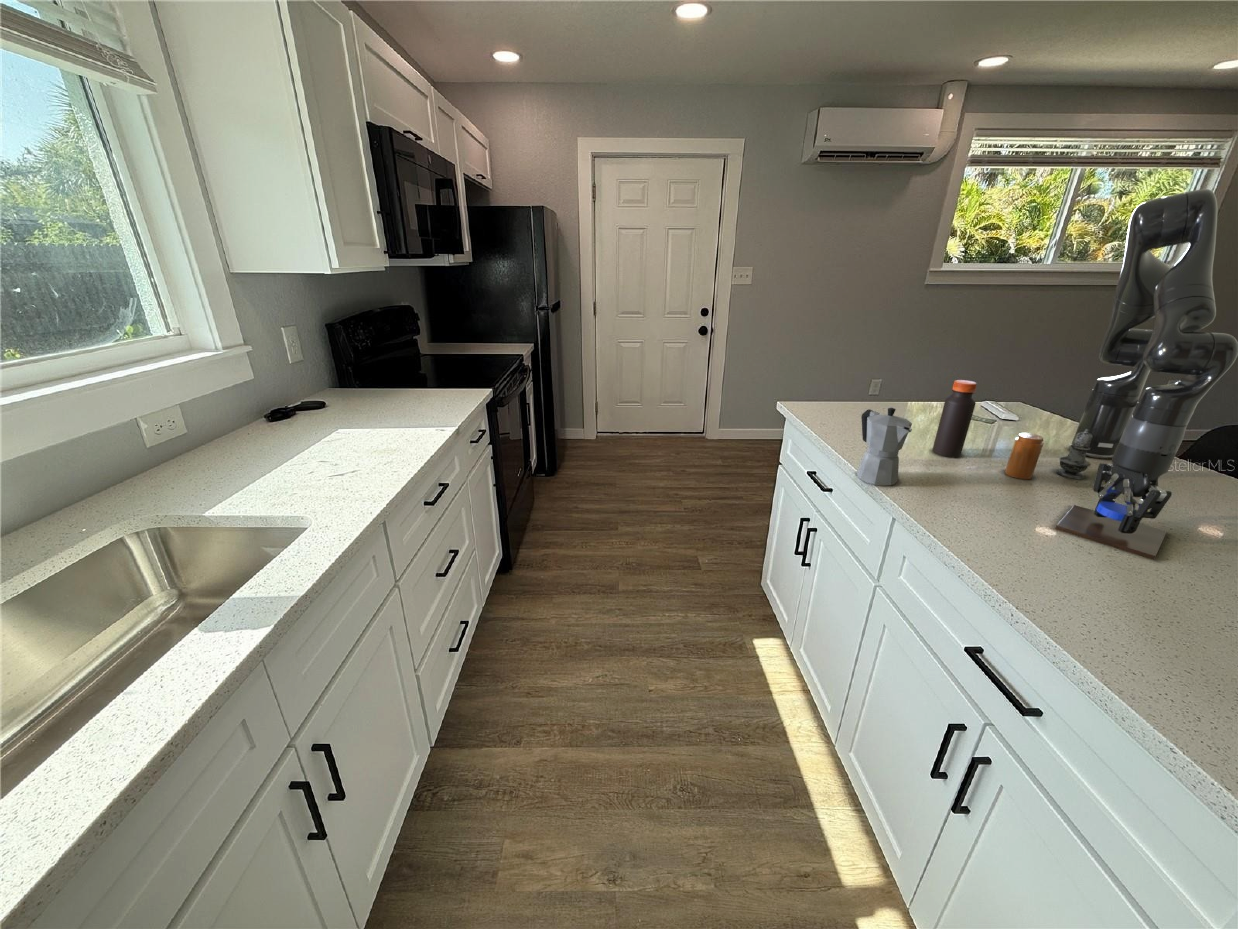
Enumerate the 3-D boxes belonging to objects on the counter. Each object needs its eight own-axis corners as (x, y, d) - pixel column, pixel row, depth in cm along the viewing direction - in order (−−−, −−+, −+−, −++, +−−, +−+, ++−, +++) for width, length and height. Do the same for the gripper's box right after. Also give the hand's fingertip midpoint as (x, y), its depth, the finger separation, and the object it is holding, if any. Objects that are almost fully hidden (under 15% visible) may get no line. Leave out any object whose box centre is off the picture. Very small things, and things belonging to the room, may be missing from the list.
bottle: (934, 455, 134) (953, 384, 126) (930, 447, 140) (947, 378, 132) (963, 459, 131) (984, 386, 124) (957, 450, 137) (977, 380, 129)
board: (1072, 508, 106) (1074, 504, 105) (1165, 534, 96) (1167, 530, 95) (1055, 528, 98) (1056, 525, 97) (1153, 559, 88) (1155, 556, 87)
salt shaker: (1091, 480, 119) (1110, 433, 114) (1063, 478, 120) (1081, 432, 115) (1075, 470, 124) (1093, 425, 119) (1049, 468, 125) (1065, 424, 120)
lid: (1102, 505, 99) (1105, 498, 98) (1140, 518, 95) (1144, 511, 94) (1091, 512, 96) (1095, 505, 95) (1131, 525, 92) (1135, 518, 91)
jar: (1008, 468, 125) (1021, 431, 121) (1034, 475, 122) (1048, 436, 118) (1001, 474, 122) (1014, 435, 118) (1027, 481, 118) (1041, 441, 115)
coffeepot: (913, 487, 115) (931, 414, 108) (878, 491, 114) (895, 417, 107) (868, 463, 129) (882, 396, 122) (837, 466, 127) (849, 399, 120)
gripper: (1096, 430, 97) (1066, 506, 103) (1158, 457, 83) (1119, 542, 90) (1139, 432, 95) (1106, 508, 102) (1209, 459, 82) (1166, 545, 89)
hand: (1112, 523), depth 96 cm, fingers closed on lid, 5 cm apart
